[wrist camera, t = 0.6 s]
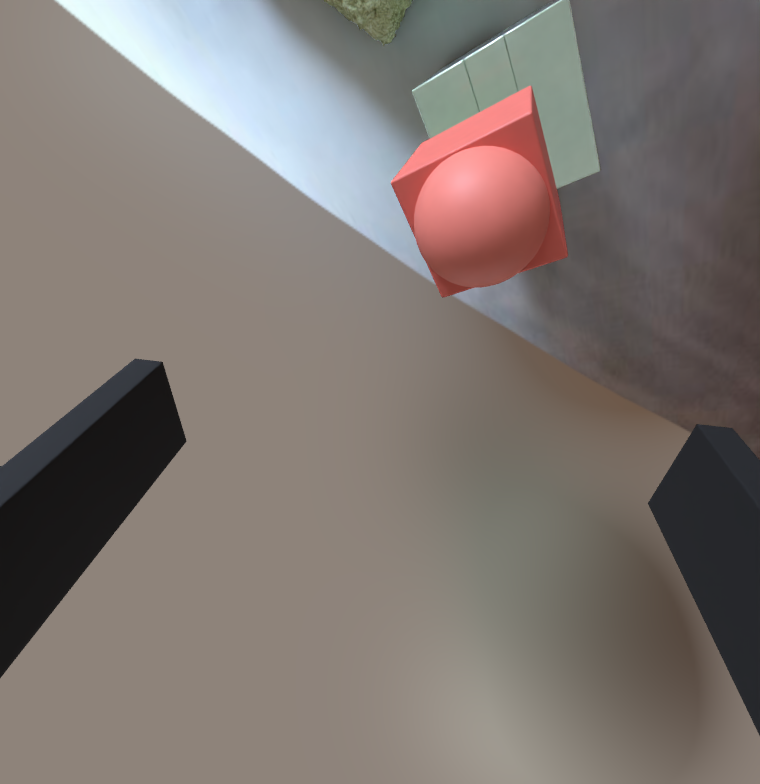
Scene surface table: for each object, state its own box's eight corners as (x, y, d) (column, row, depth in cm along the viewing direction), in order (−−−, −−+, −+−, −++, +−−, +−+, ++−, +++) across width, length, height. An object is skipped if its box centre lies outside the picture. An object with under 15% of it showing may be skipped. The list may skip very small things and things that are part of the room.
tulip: (530, 45, 27) (532, 126, 9) (546, 113, 29) (573, 288, 11) (456, 88, 29) (340, 219, 11) (476, 147, 31) (403, 338, 13)
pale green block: (548, 2, 26) (568, -6, 17) (572, 122, 30) (601, 171, 20) (443, 67, 29) (410, 90, 20) (477, 167, 33) (463, 228, 23)
